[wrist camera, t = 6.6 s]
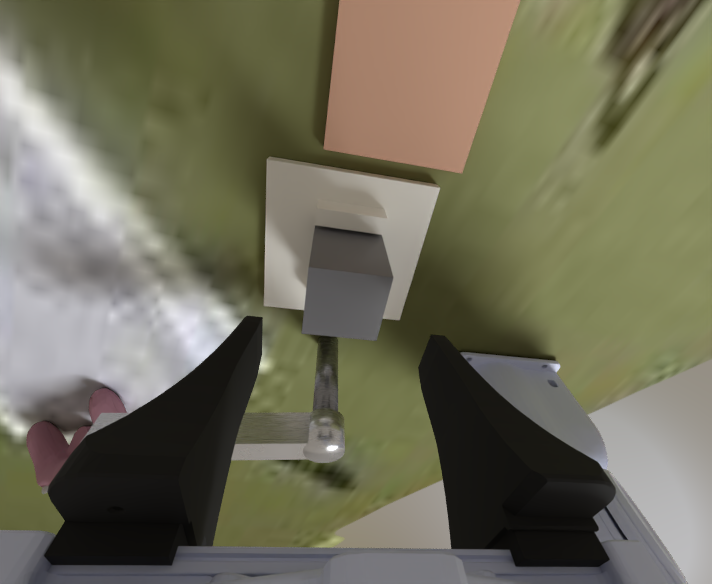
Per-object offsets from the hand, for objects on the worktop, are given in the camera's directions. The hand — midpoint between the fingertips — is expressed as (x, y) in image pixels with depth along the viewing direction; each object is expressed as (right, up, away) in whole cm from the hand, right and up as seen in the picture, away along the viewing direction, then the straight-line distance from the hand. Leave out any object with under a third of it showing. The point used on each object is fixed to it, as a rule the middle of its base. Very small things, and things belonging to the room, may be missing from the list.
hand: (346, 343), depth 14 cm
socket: (-1, +3, +9) cm, 10 cm away
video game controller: (-24, -9, +17) cm, 31 cm away
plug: (0, +5, +7) cm, 9 cm away
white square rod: (-7, -6, +6) cm, 11 cm away
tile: (+3, +13, +3) cm, 14 cm away
